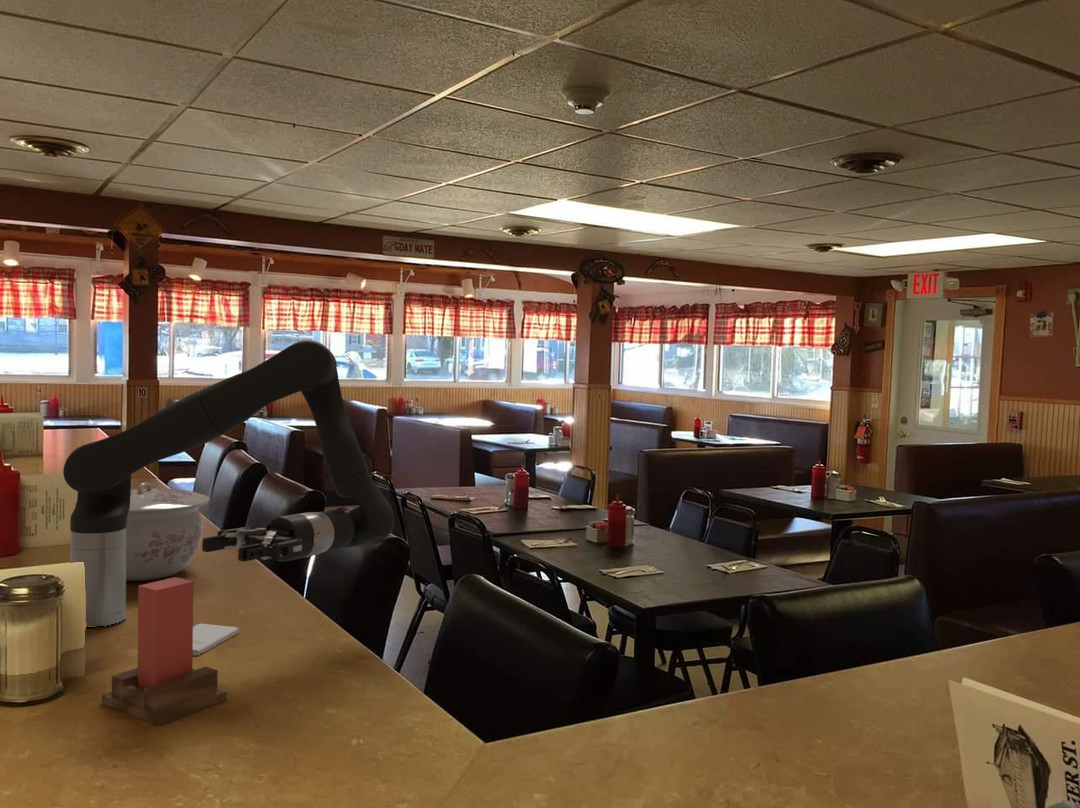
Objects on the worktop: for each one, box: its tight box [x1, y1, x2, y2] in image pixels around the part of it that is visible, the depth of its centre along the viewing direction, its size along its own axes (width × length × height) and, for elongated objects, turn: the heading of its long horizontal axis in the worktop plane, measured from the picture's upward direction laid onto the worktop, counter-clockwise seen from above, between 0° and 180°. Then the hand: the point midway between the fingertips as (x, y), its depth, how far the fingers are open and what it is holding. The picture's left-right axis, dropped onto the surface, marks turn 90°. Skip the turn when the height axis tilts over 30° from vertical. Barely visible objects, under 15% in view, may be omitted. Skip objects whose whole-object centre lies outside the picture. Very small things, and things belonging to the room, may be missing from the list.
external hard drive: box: [193, 623, 240, 656], centre depth 151 cm, size 2×8×12 cm
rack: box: [101, 666, 228, 727], centre depth 125 cm, size 13×11×4 cm
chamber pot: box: [74, 481, 211, 582], centre depth 194 cm, size 28×28×21 cm
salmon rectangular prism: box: [137, 576, 194, 690], centre depth 124 cm, size 4×6×16 cm, turn 150°
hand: (221, 550), depth 134 cm, fingers open, 8 cm apart
